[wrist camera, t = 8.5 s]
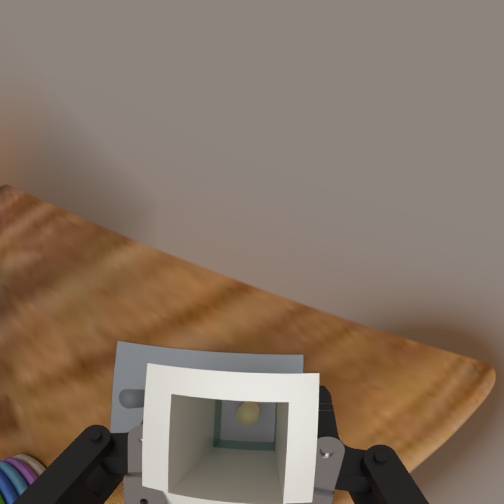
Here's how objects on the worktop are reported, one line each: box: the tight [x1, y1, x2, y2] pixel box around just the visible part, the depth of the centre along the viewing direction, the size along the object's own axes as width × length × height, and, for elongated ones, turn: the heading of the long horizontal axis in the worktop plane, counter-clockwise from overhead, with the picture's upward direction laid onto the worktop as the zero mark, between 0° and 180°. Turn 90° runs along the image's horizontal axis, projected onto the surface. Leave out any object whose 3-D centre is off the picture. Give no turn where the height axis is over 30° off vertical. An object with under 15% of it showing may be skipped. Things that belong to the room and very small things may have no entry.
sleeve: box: [142, 363, 319, 504], centre depth 11 cm, size 5×5×10 cm
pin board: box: [111, 341, 303, 442], centre depth 19 cm, size 16×9×6 cm, turn 88°
